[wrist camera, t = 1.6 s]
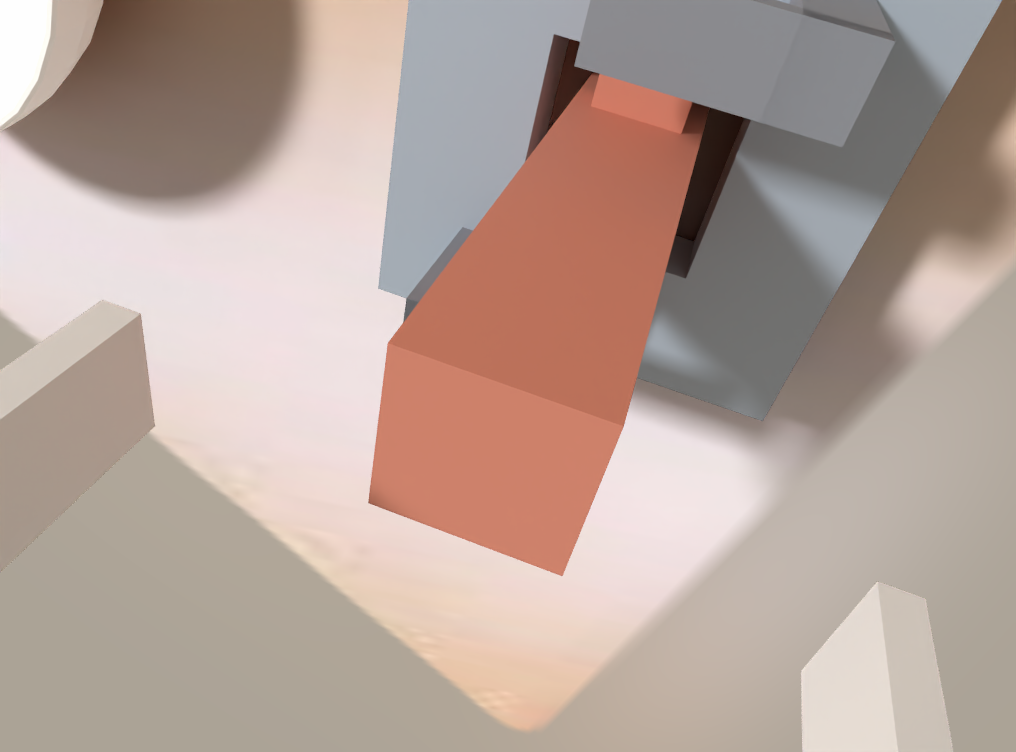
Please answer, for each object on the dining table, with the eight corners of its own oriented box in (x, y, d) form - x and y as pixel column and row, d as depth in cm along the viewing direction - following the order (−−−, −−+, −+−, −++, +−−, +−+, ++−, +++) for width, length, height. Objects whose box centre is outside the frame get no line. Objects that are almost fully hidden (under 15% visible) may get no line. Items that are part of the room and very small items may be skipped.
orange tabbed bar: (633, -61, 24) (416, 116, 10) (757, -26, 23) (711, 210, 10) (548, 255, 31) (355, 611, 17) (642, 286, 31) (521, 676, 17)
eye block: (465, -195, 23) (340, -199, 17) (997, -52, 21) (1086, 6, 15) (407, 255, 33) (315, 361, 27) (764, 376, 31) (758, 520, 25)
